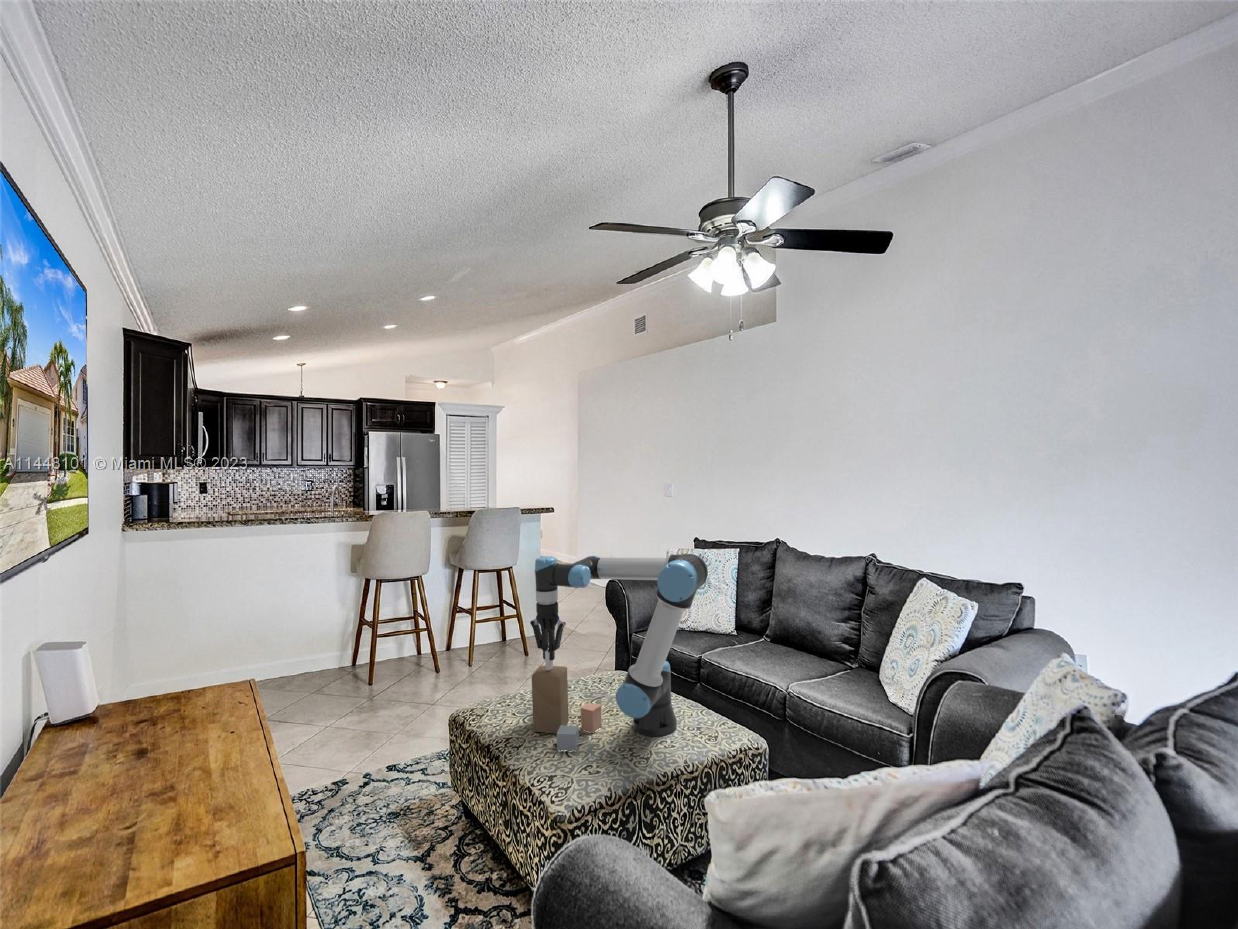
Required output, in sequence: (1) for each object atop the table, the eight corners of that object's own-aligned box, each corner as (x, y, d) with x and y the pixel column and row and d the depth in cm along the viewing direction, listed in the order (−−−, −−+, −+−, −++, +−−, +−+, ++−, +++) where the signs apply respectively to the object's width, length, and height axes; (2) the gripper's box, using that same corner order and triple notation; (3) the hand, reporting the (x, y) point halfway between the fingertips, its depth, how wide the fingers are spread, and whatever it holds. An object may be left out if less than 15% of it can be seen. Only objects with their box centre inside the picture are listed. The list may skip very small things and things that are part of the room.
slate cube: (578, 743, 209) (578, 725, 208) (575, 752, 203) (574, 734, 203) (561, 743, 209) (560, 725, 209) (557, 752, 204) (556, 733, 203)
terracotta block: (601, 728, 219) (600, 705, 219) (593, 734, 215) (592, 711, 215) (589, 725, 222) (589, 702, 221) (581, 730, 218) (580, 708, 217)
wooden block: (561, 735, 215) (559, 677, 214) (533, 733, 217) (531, 675, 216) (569, 721, 225) (567, 666, 224) (542, 720, 227) (540, 665, 226)
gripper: (568, 600, 220) (570, 667, 221) (535, 597, 225) (538, 663, 226) (558, 606, 213) (561, 675, 214) (525, 603, 218) (527, 670, 219)
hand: (549, 668), depth 220 cm, fingers closed
